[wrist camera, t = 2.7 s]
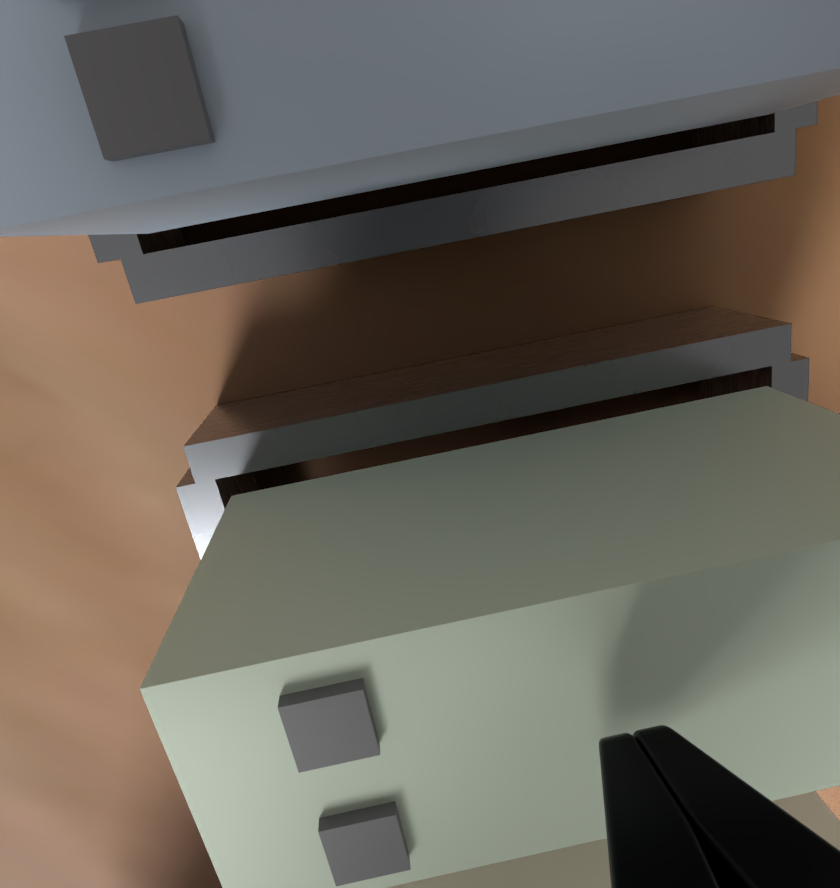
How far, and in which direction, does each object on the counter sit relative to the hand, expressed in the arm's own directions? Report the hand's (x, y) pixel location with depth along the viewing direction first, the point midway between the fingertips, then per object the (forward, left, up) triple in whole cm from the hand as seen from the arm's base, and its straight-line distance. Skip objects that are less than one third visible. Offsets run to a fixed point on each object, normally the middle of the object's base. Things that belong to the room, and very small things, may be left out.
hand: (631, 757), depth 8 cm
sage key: (0, 0, -6) cm, 6 cm away
